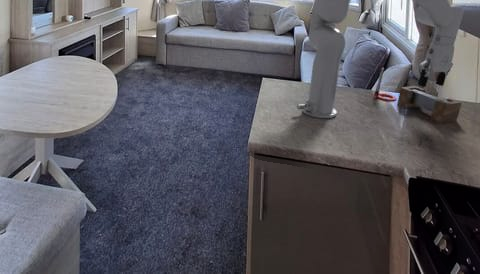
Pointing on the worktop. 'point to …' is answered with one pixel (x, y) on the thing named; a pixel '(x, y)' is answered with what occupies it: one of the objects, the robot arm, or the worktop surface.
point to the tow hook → (378, 95)
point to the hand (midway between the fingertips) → (430, 85)
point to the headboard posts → (441, 111)
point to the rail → (424, 100)
